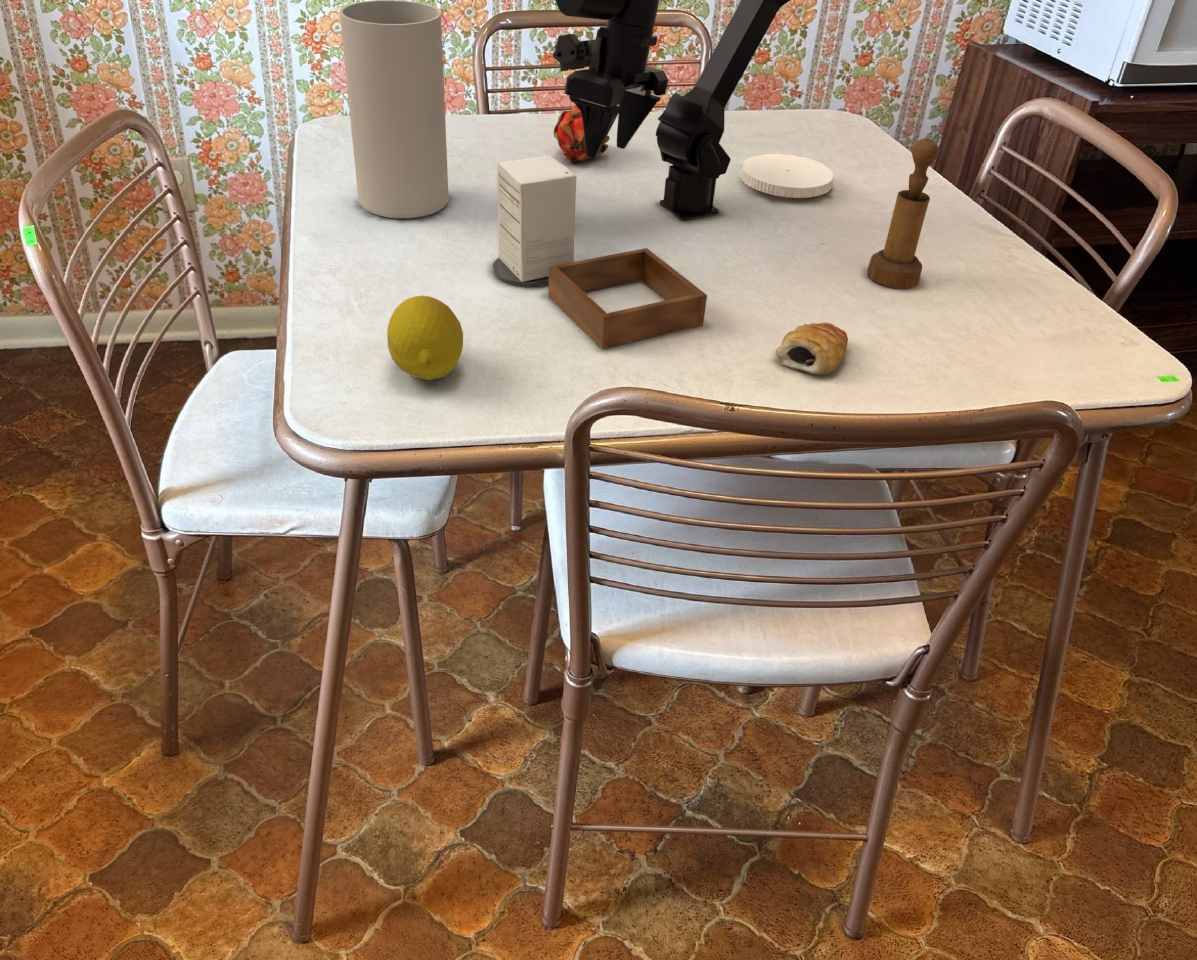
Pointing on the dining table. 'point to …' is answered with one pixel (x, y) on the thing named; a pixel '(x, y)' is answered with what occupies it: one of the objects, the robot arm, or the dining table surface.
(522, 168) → the white packaging box
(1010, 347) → the dining table surface
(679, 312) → the brown square shallow frame
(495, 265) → the slate coaster
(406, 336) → the lemon
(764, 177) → the plastic lid
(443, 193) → the cylinder vase
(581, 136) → the dragon fruit
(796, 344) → the pastry
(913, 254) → the mortar and pestle
